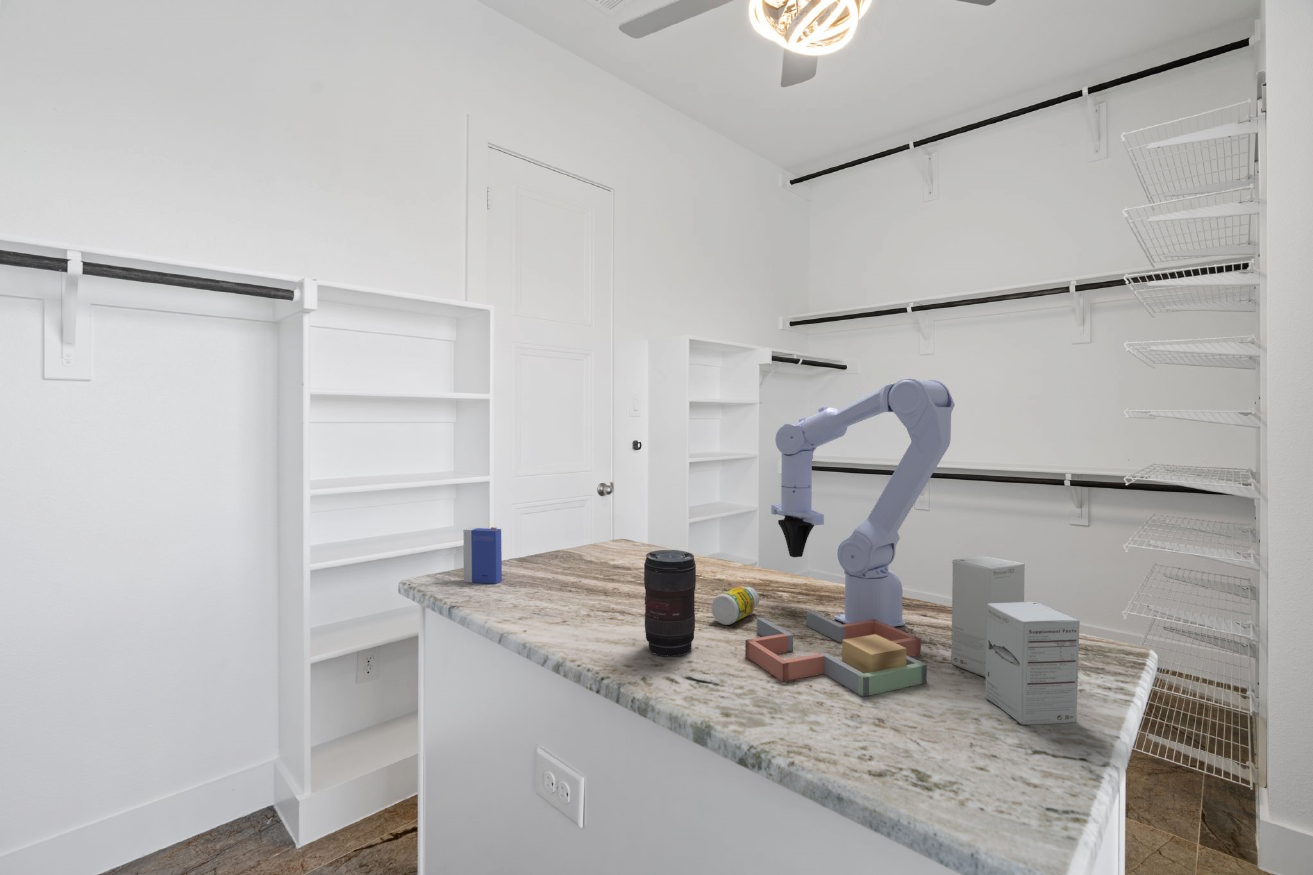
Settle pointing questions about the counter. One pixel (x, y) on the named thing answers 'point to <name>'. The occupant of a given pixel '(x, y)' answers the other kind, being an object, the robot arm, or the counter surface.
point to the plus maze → (824, 663)
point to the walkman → (482, 555)
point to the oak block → (872, 653)
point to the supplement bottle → (734, 604)
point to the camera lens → (669, 601)
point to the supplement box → (1032, 662)
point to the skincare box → (980, 604)
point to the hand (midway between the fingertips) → (795, 556)
